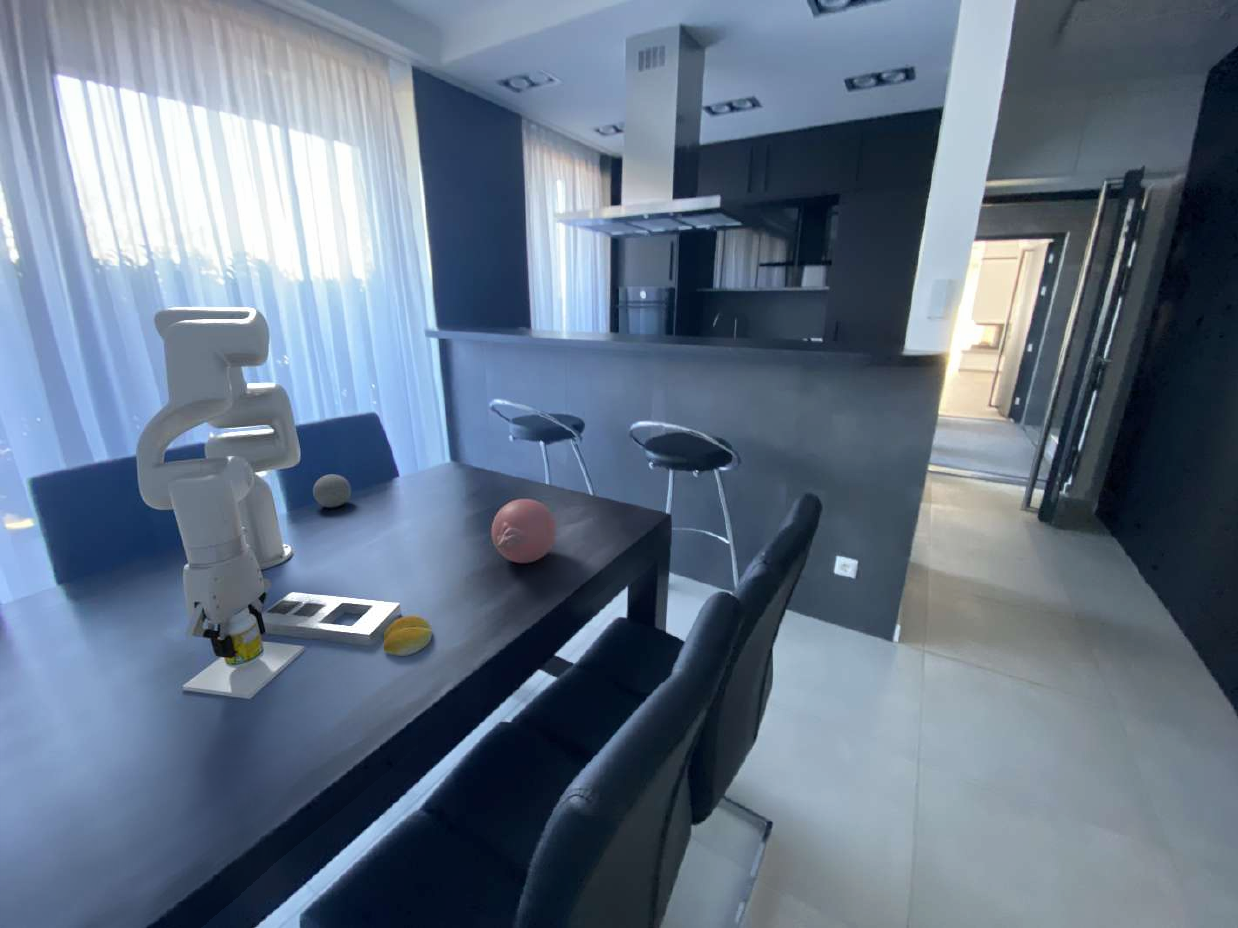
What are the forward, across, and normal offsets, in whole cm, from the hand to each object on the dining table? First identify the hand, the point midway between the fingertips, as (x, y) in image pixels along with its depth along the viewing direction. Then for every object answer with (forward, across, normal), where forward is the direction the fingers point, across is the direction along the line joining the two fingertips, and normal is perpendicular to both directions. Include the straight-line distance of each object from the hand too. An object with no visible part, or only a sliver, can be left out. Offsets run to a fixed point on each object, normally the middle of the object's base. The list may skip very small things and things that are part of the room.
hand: (241, 643), depth 85 cm
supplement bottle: (+3, 0, 0) cm, 3 cm away
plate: (+5, 0, 0) cm, 5 cm away
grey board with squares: (+5, -14, +5) cm, 16 cm away
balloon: (+5, -43, +34) cm, 55 cm away
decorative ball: (+6, -67, -33) cm, 75 cm away
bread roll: (+5, -11, +23) cm, 26 cm away
